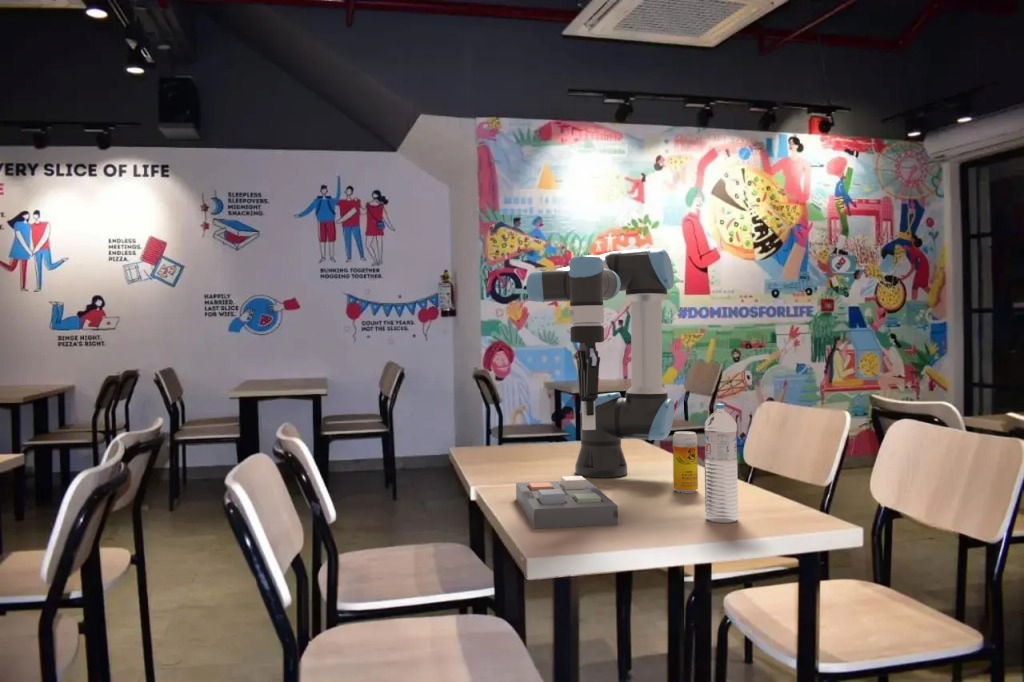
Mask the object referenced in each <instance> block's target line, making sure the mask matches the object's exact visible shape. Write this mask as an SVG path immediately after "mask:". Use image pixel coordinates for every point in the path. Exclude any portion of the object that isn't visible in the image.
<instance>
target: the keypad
mask: <svg viewBox="0 0 1024 682" xmlns="http://www.w3.org/2000/svg"><path fill="white" fill-rule="evenodd" d="M540 482H541V481H531V482H529V481H528V482H526V481H525V482H524V481H523V482H515V497H516V501H517V502H518V504H519V506H520V508H521V509H522V511H523V512H524V514H525V516H526V517H527V518H528V519H527V520H529V522H530V524H531V526H532V527H533V529H547V528H549V529H553V528H572V527H590V526H591V527H593V526H614V525H619V505H617V504H616V503H615V502H614V501H613V500H612V499H611V498H610V497H608V496H607V495H606V494H605V493H603V492H602V491H601V490H600V489H599V488H597V487H596V486H595V485H594V484H593V483H591V482H590V481H589V480H587V479H586V489H566V490H564V489H563V488H562V487H561V480H557V481H555V480H554V481H548V482H549V483H550V484H551V485H552V486H553V489H561V490H562V491H563V492H564V493H565V504H542V505H540V504H539V502H538V491H530V490H529V483H540ZM584 493H596V494H597V495H598V496H599V497H601V502H588V503H576V502H575V501H574V494H584Z"/></svg>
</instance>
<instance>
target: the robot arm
mask: <svg viewBox="0 0 1024 682" xmlns="http://www.w3.org/2000/svg"><path fill="white" fill-rule="evenodd" d="M674 279H675V278H674V269H673V264H672V261H671V258H670V255H669V253H668V252H667V250H665V249H663V248H659V247H658V248H652V247H651V248H650V247H648V248H638V249H626V250H625V249H624V250H612V251H608V252H604V253H600V254H598V255H579V256H573V257H571V258H570V259H569V264H568V266H565V267H560V268H557V269H551V270H539V271H533V272H530V273H529V274H528V277H527V279H526V287H525V288H526V292H527V296H528V298H529V300H530V301H531V302H533V303H534V302H537V303H538V302H539V303H547V302H565V301H566V302H567V301H569V307H570V309H569V310H568V311H567V314H568V315H569V316H570V320H569V321H570V324H572V326H571V327H570V328H569V329H570V330H569V331H570V332H569V333H570V342H571V343H573V344H579V347H578V350H577V352H576V356H575V360H576V366H577V381H578V396H579V397H580V410H579V414H580V448H579V452H578V455H577V458H576V462H575V467H574V470H575V471H574V472H575V474H576V475H577V476H582V477H589V478H590V477H591V478H613V477H614V478H616V477H623V476H626V475H627V474H628V464H627V461H626V457H625V455H624V451H623V448H622V439H634V440H648V441H652V440H653V441H654V440H657V441H659V440H664V439H667V438H668V437H669V434H670V433H671V431H672V428H673V422H674V417H675V402H674V400H673V399H671V398H670V397H669V395H668V391H667V390H666V389H665V387H663V362H662V361H663V352H662V351H663V345H662V344H663V333H662V332H663V328H662V326H663V325H662V324H663V322H662V321H663V319H662V318H663V317H662V316H663V315H662V314H663V312H662V311H663V310H662V309H663V308H662V307H663V305H662V303H663V301H664V300H665V299H666V298H667V296H668V290H669V291H670V290H671V289H673V287H674V282H675V281H674ZM620 291H621V292H622V291H623V292H624V291H625V297H626V298H627V300H628V301H630V303H631V304H630V305H631V306H630V315H631V316H630V318H631V320H630V321H631V322H630V325H631V326H630V331H631V336H630V337H631V338H630V339H631V340H630V341H631V342H630V347H631V348H630V350H631V352H630V354H631V356H630V357H631V365H630V366H631V367H630V368H631V369H630V370H631V373H630V375H631V385H630V387H629V388H628V389H627V390H625V391H626V392H625V397H622V395H621V393H620V392H619V391H617V392H607V393H600V394H599V375H600V374H599V373H600V371H599V370H600V365H601V364H600V362H601V358H600V357H601V356H599V351H598V350H597V347H596V346H597V344H596V343H603V342H604V341H605V328H604V326H603V325H602V324H604V323H605V315H604V313H605V309H604V308H605V307H604V301H608V300H612V299H613V298H615V297H617V296H618V294H619V292H620Z"/></svg>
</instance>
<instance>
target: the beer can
mask: <svg viewBox="0 0 1024 682" xmlns="http://www.w3.org/2000/svg"><path fill="white" fill-rule="evenodd" d="M672 456H673V457H672V461H673V463H672V465H673V466H672V467H673V469H672V470H673V471H672V472H673V475H672V477H673V481H672V482H673V483H672V484H673V489H674V490H675V492H676V491H677V493H680V492H681V494H695V493H696V492H697V490H698V488H699V473H698V472H699V471H698V469H699V468H698V467H699V466H698V465H699V464H698V460H699V459H698V436H697V433H696V432H695V431H686V430H685V431H683V430H682V431H675V432H674V434H673V436H672Z"/></svg>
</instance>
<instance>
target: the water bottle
mask: <svg viewBox="0 0 1024 682" xmlns="http://www.w3.org/2000/svg"><path fill="white" fill-rule="evenodd" d="M725 406H726V405H725V403H716V404H715V411H713V413H710V414H709V416H708V417H707V418H706V420H705V421H704V423H703V426H704V427H703V429H704V505H705V506H704V507H705V508H704V512H705V518H706V520H708V521H709V522H713V523H718V524H719V523H720V524H721V523H722V524H730V523H734V522H737V520H738V519H739V515H738V514H739V507H738V506H739V503H738V502H739V498H738V496H739V491H738V489H739V487H738V483H739V482H738V479H739V478H738V475H739V474H738V456H737V455H738V452H737V449H738V447H737V445H738V444H737V431H738V425H737V422H736V420H735V419H734V418H733V416H732V415H731V414H729V413H728V412H726V411H725Z"/></svg>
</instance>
